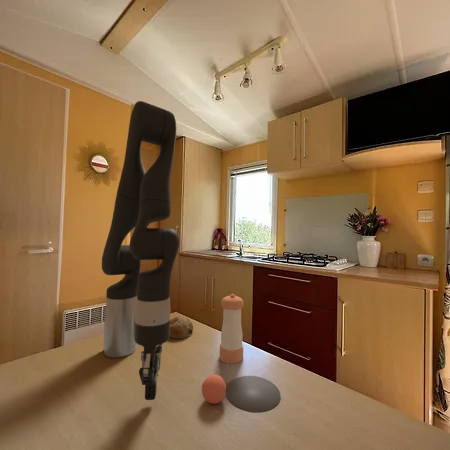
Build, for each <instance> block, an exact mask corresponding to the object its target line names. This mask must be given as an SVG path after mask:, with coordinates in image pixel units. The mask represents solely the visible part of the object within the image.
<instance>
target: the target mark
mask: <svg viewBox="0 0 450 450" xmlns="http://www.w3.org/2000/svg"><path fill="white" fill-rule="evenodd" d="M225 396H226V397H227V399H228V401H229V402H230V403H231V404H232V405H234V406H235V407H237V408H239V409H241V410H244V411H247V412H253V413H254V412H255V413H256V412H258V413H259V412H266V411H269V410H272V409H273V408H275V407H276V406H277V405H279V403H280V400H281V391H280V389H279V387H278V386H277V385H276V384H274V383H273V382H272V381H270V380H268V379H267V378H263V377H261V376H256V375H241V376H238V377H236V378H235V377H234V378H233V379H232V380H230V381H229V382H228V383H227V384H226V393H225Z"/></svg>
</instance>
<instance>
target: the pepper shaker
mask: <svg viewBox="0 0 450 450" xmlns="http://www.w3.org/2000/svg"><path fill="white" fill-rule="evenodd" d="M220 304H221V305H220V306H221V307H222V308H223V315H222V316H223V317H222V321H223V322H222V327H221V332H220V344H219V359H220V361H221V362H224V363H227V364H238V363H240V362H242V361H243V360H244V344H243V328H242V309H243V307H244V305H245V302H244V300H243V299H242V298H241V297H240V296H237V295H236V294H234V293H231V294H229V295H227V296H225V297H223V298H222V299H221V302H220Z"/></svg>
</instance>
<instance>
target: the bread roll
mask: <svg viewBox="0 0 450 450" xmlns="http://www.w3.org/2000/svg"><path fill="white" fill-rule="evenodd" d="M193 330H194V324H193V322H192V321H191V320H190V318H187V317H186V316H182V315H180V316H175V317H172V318H170V337H169V338H171V339H174V338H175V339H178V338H180V339H186V338H188V337H187V336H190V337H191V336H192V334H193V332H194V331H193ZM191 333H192V334H191ZM185 337H186V338H185Z"/></svg>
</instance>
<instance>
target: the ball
mask: <svg viewBox="0 0 450 450" xmlns="http://www.w3.org/2000/svg"><path fill="white" fill-rule="evenodd" d="M226 387H227V384H226V382H225V380H224V378H223V377H222V376H220V375H219V374H210V375H209V376H207V377H206V378H204V380H203V382H202V385H201V394H202V396H203V399H204V400H205V401H206V402H208V403H210V404H214V405H215V404H218V403H220V402H221V401H222V400H224V398H225V396H226Z"/></svg>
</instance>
